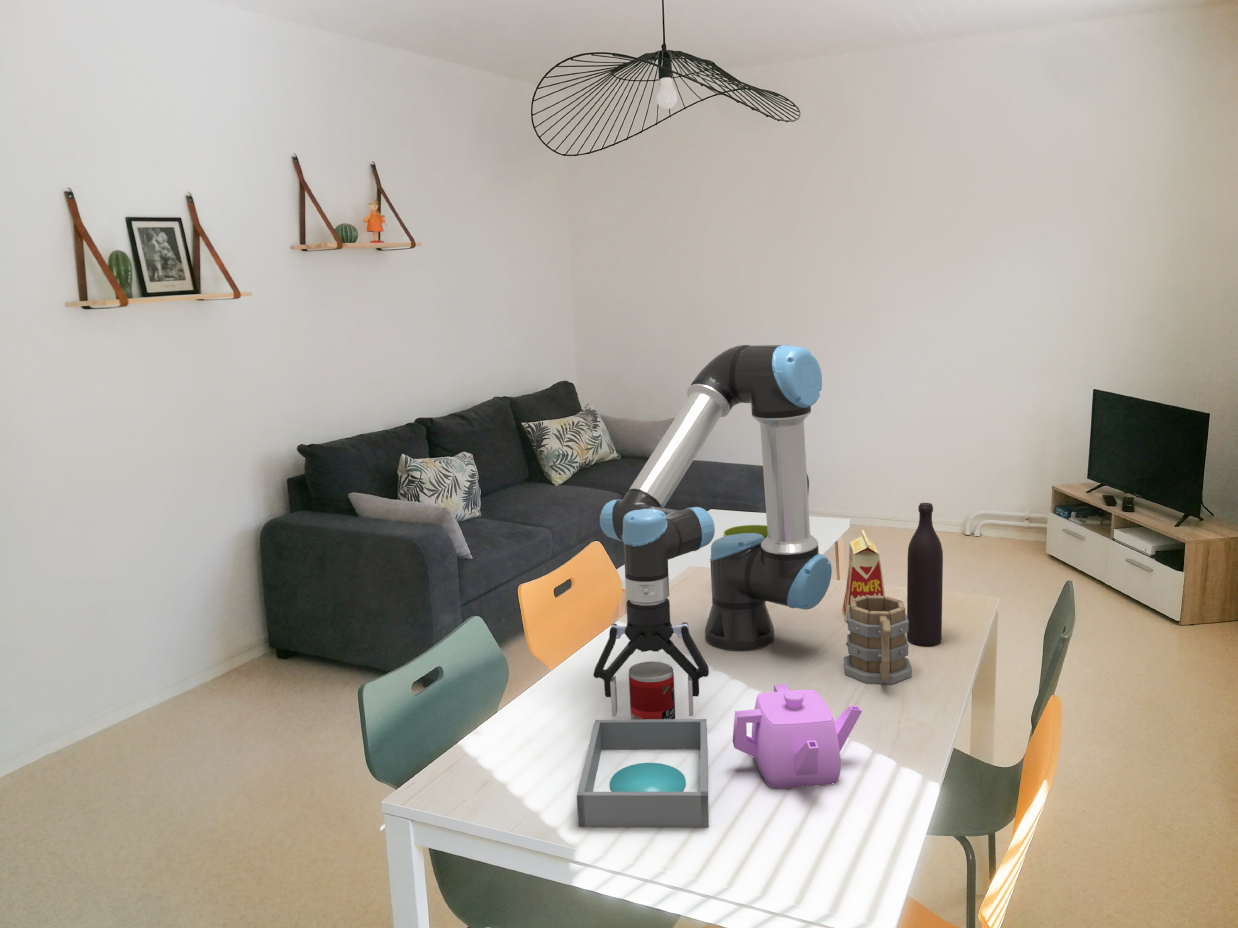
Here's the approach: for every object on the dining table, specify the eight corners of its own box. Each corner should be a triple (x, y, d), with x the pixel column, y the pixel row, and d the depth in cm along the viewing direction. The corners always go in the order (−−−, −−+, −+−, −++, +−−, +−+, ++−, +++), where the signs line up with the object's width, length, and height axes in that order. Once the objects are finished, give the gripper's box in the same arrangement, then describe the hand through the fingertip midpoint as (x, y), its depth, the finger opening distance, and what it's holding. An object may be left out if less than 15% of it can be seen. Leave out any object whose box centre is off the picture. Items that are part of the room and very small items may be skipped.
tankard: (842, 657, 192) (842, 588, 190) (906, 659, 190) (907, 588, 187) (848, 699, 173) (847, 623, 170) (918, 701, 171) (919, 624, 168)
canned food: (672, 738, 161) (670, 679, 159) (627, 736, 163) (624, 677, 161) (678, 718, 169) (676, 661, 167) (635, 716, 170) (632, 660, 168)
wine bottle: (948, 641, 198) (951, 503, 192) (927, 649, 194) (929, 509, 188) (921, 632, 204) (922, 498, 198) (899, 639, 200) (900, 504, 194)
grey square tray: (596, 746, 160) (594, 719, 159) (707, 746, 158) (706, 718, 157) (578, 826, 136) (576, 795, 136) (708, 826, 135) (707, 795, 134)
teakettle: (777, 731, 162) (775, 664, 160) (867, 759, 151) (867, 688, 149) (721, 772, 150) (719, 700, 148) (816, 806, 139) (815, 729, 137)
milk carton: (841, 610, 220) (841, 528, 216) (882, 610, 218) (882, 527, 215) (845, 623, 211) (845, 538, 207) (887, 624, 209) (888, 538, 206)
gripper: (573, 607, 159) (580, 722, 163) (720, 604, 157) (724, 722, 161) (579, 593, 166) (585, 703, 170) (719, 590, 164) (722, 702, 168)
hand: (652, 712), depth 165 cm, fingers open, 13 cm apart
